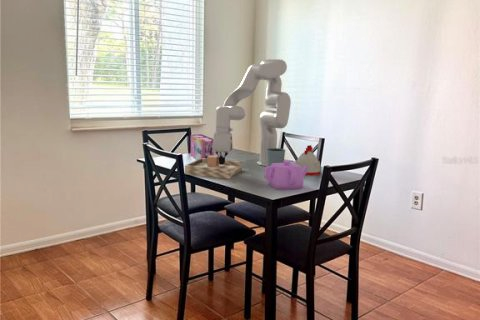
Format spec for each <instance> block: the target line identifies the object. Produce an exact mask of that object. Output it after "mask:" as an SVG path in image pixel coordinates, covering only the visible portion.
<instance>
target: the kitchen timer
mask: <svg viewBox="0 0 480 320" xmlns="http://www.w3.org/2000/svg"><path fill="white" fill-rule="evenodd" d="M312 151H313V147H312V145H306V148H305V150H304V152H302V153H301V154H300V155H299V157H298V158H297V159H295V162H294V163H295V164H298V165H300V166H301V167H302V169H303V168H304V167H305V166H307V167H309V169H308V171H307V172H306V174H305V176H309V177H310V176H318V175H319V176H320V174H321V161H320V160H319V159H318V158H317V156H316V155H315V154H314V152H312Z"/></svg>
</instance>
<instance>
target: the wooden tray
mask: <svg viewBox="0 0 480 320" xmlns="http://www.w3.org/2000/svg"><path fill="white" fill-rule="evenodd" d="M241 171H243V161H236V160H235V161H234V160H225V163H224V164H223V165H220V164H219V165H218V166H217V167H211V166H207V159H204V158H201V159H198V160H197V159H196V160H194V161H192V162H190V163H187V164H185V165H184V175H190V176H198V177H199V176H200V177H209V178H219V179H231V178H233V177H234V176H235V175H237V174H239V173H240V172H241Z"/></svg>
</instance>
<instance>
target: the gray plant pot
mask: <svg viewBox="0 0 480 320" xmlns="http://www.w3.org/2000/svg"><path fill="white" fill-rule="evenodd" d="M285 155H286V149H285V148H280V147H279V148H278V147H276V148H269V149H267V166H271V164H272V163H284V162H283V161H284V160H285Z"/></svg>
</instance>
